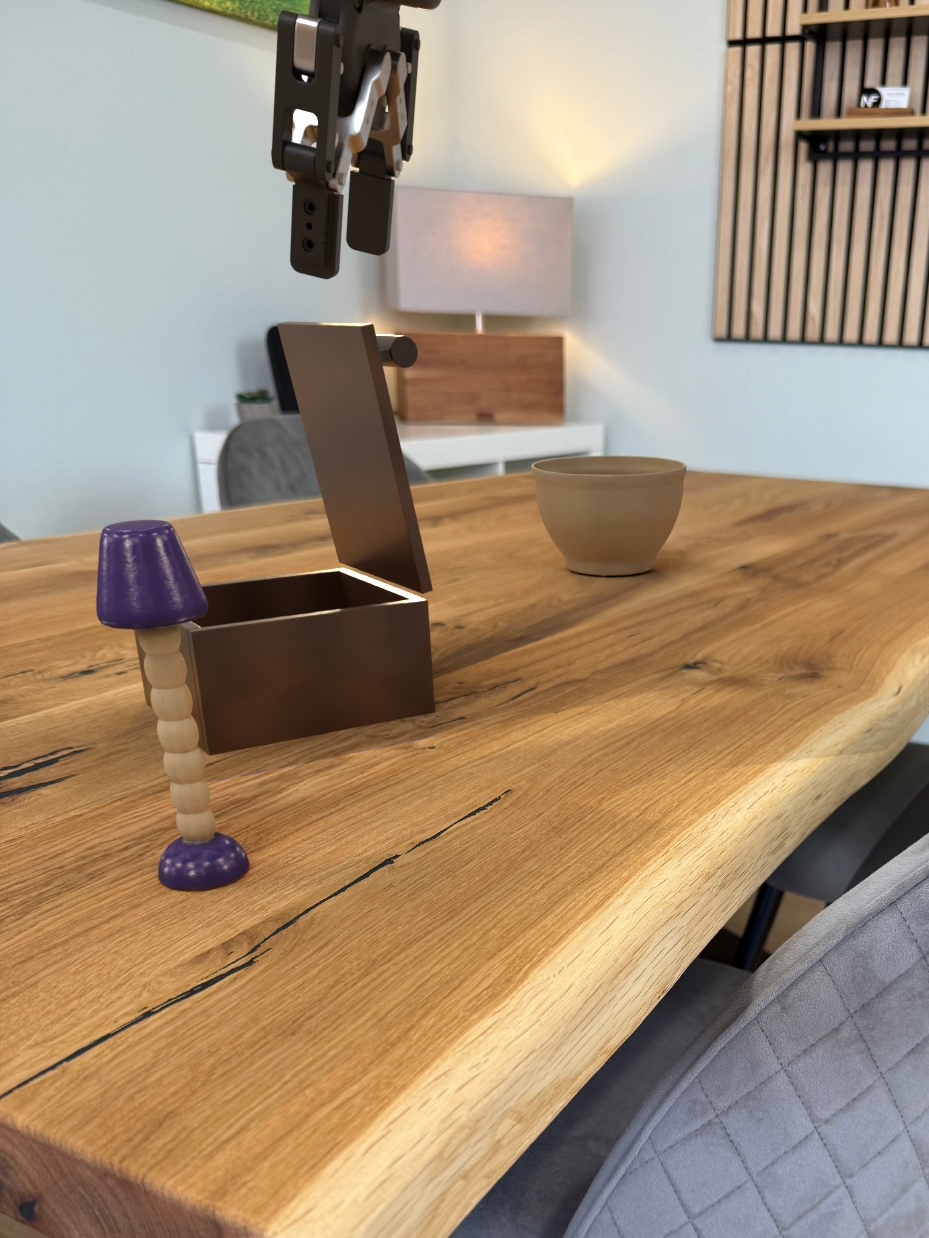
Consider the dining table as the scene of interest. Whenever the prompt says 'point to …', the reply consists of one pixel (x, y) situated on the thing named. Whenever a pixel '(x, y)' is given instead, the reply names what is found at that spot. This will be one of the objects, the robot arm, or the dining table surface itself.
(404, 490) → the lid
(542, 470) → the planter bowl
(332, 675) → the chest
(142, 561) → the toy lamp
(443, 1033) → the dining table surface
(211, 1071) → the dining table surface
